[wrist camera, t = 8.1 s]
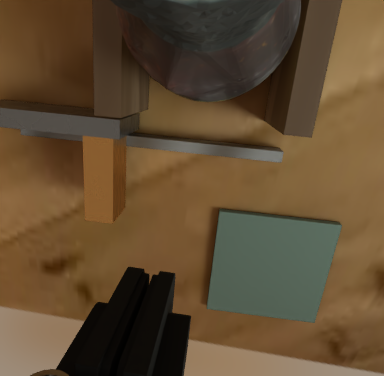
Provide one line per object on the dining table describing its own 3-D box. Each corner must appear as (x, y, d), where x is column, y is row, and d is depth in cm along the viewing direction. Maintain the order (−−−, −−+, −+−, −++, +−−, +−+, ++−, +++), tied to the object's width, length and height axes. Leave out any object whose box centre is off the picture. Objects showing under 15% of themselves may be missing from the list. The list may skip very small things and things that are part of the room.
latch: (139, 113, 23) (119, 120, 18) (136, 200, 25) (118, 226, 21) (2, 99, 24) (-52, 102, 19) (11, 186, 26) (-34, 208, 21)
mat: (339, 222, 25) (341, 225, 24) (312, 318, 28) (314, 322, 28) (219, 208, 25) (219, 211, 25) (207, 304, 29) (206, 308, 28)
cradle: (314, -40, 19) (365, -106, 13) (277, 158, 24) (300, 185, 17) (16, -63, 20) (-81, -135, 14) (32, 132, 25) (-36, 148, 18)
